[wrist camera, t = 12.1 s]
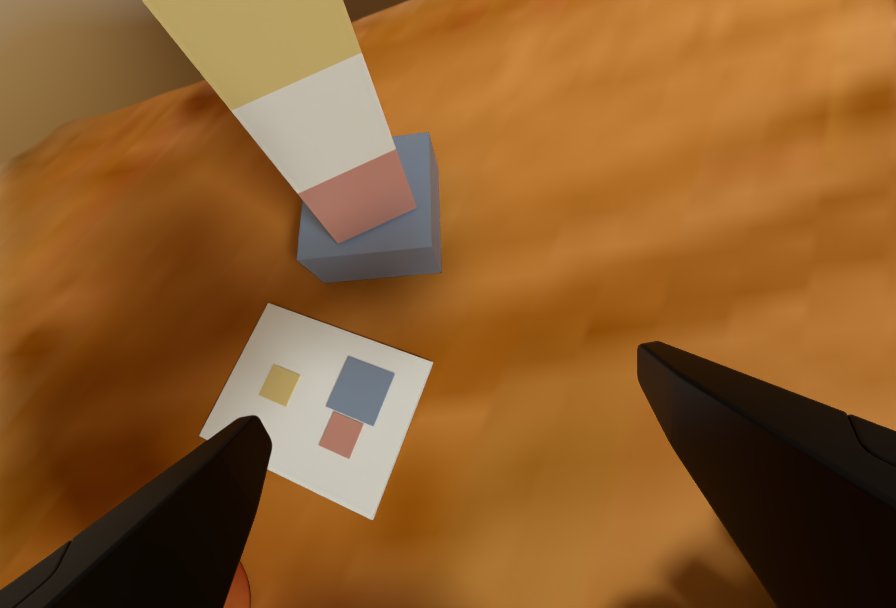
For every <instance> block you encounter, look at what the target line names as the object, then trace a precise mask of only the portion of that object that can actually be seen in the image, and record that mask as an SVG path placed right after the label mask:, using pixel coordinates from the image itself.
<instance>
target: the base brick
mask: <svg viewBox="0 0 896 608" xmlns="http://www.w3.org/2000/svg"><path fill="white" fill-rule="evenodd" d="M392 139H393V142H394V145H395V147H396V150H397V153H398V156H399V159H400V161H401V164H402V167H403V170H404V173H405V175H406V178H407V181H408V184H409V187H410V189H411V192H412V195H413V198H414V201H415V203H416V206H417V208H415V209H413V210H411V211H409V212H407V213H404V214H402V215H400V216H398V217H396V218H394V219H391V220H389V221H387V222H385V223H383V224H381V225H378V226H376V227H374V228H372V229H370V230H368V231H366V232H363V233H361V234H359V235H357V236H355V237H353V238H350V239H348V240H346V241H344V242H342V243H340V244H338V243H337V242H336V241H335V240H334V238H333V237H332V236H331V235H330V233H329V232H328V231H327V230H326V228H325V227H324V226H323V225H322V223H321V222H320V221H319V220H318V219H317V217H316V216H315V215H314V214H313V212H312V211H311V210H310V209H309V207H308V206H307V205H306V204H305V202H304V201H302V211H301V220H300V230H299V240H298V250H297V261H298V262H300V263H301V264H302V265H303V266H304V267H306V268H307V269H308V270H309V271H310V272H312V273H313V274H314V275H315V276H316V277H318V278H319V279H320V280H321V281H322V282H323V283H330V282H341V281H353V280H364V279H375V278H387V277H398V276H409V275H420V274H432V273H442V268H441V237H440V206H439V174H438V166H437V162H436V158H435V154H434V150H433V146H432V142H431V138H430V134H429V132H426V133H418V134H411V135H403V136H395V137H392Z"/></svg>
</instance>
